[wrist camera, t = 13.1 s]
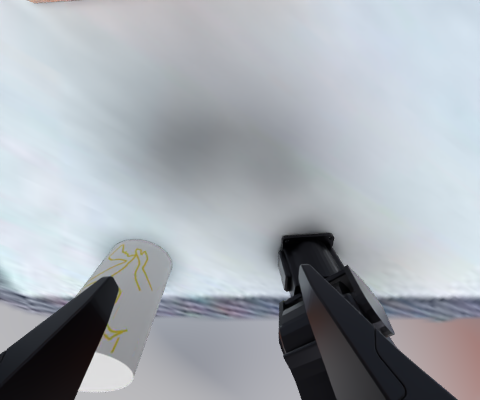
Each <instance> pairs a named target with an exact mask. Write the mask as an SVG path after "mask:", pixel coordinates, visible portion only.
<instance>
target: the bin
mask: <svg viewBox="0 0 480 400" xmlns="http://www.w3.org/2000/svg"><path fill="white" fill-rule="evenodd" d="M28 1H30V2H33V3H45V2H59V1H73V0H28Z"/></svg>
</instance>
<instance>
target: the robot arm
mask: <svg viewBox="0 0 480 400" xmlns="http://www.w3.org/2000/svg"><path fill="white" fill-rule="evenodd" d="M329 237H330V238H329ZM285 240H287V241H285ZM333 241H334V236H333V235H332V234H331V233H328V234H312V235H296V236H284V237H283V238H282V248H281V251H279V257H278V267H279V271H280V275H281V279H282V283H283V287H284V290H285V291H286V292H287V291H289V292H290V295H291V298H289V299H287V300H285V301H284V300H283V301H282V302H280V305H279V344H280V346H281V349H282V352H283V354H284V355H283V356H284V359H285V361H286V363H287V365H288V366H289V368H290V370H291V372H292V375H293V377H294V379H295V381H296V384H297V387H298V390H299V393H300V396H301V399H302V400H457V399H456V398H455V397H454V396H453V395H451V394H450V393H449V392H448V391H447V390H445V389H444V388H443V387H442V386H441V385H440V384H438V383H437V382H436V381H435V380H434V379H432V378H431V377H430V376H429V375H428V374H426V373H425V372H424V371H423V370H422V369H420V368H419V367H418V366H417V365H416V364H414V363H413V362H412V361H411V360H410V359H409V358H408V357H407V356H405V355H404V354H403V353H402V352H401V351H400V350H399V349H398V348H397V347H396V346H395V344H394V343H393V341H392V340H391V338H390V337H389V336H392V335H394V331H393V329H392V327H391V324H390V322H389V320H388V318H387V315H386V313H385V311H384V309H383V307H382V305H381V304H380V302H379V301H378V300H377V298H376V297H375V295H374V294H373V293H372V291H371V290H370V289H369V287H368V286H367V285H366V284H365V283H364V282H363V281H362V280H361V278H360V277H359V276H358V275H357V274H356V273H355V272H354V271H353V270H352V269H351V268H350V267H349V266H348V265H347V266H345V267H344V265H343V264H342V262H341V260H340V259H339V257H338V256H337V254H336V252H335V251H334V249H333V248H332V246H333ZM118 292H119V287H118V285H117V283H116V281H115V279H114V278H113V277H112V276H104V277H102V278H100V279H99V280H97V281H96V282H95V283H93V284H92V285H91V286H90V287H88V288H87V289H86V290H84V291H83V292H82V293H80V294H79V295H78V296H76V297H75V298H74V299H72V300H71V301H70V302H68V303H67V304H66V305H64V306H63V307H62V308H61V309H59V310H58V311H57V312H55V313H54V314H53V315H51V316H50V317H49V318H47V319H46V320H45V321H43V322H42V323H41V324H40V325H38V326H37V327H35V328H34V329H33V330H32V331H30V332H29V333H28V334H26V335H25V336H24V337H22V338H21V339H20V340H18V341H17V342H16V343H14V344H13V345H12V346H10V347H9V348H8V349H7V350H6V351H4V352H2V353H1V354H0V400H74V399H75V396H76V395H77V392H78V390H79V388H80V386H81V383H82V381H83V379H84V377H85V374H86V372H87V370H88V367H89V365H90V363H91V361H92V358H93V356H94V354H95V352H96V349H97V347H98V345H99V343H100V340H101V338H102V336H103V334H104V331H105V329H106V327H107V324H108V321H109V319H110V316H111V313H112V310H113V307H114V304H115V301H116V298H117V295H118Z"/></svg>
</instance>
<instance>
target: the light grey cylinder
mask: <svg viewBox="0 0 480 400" xmlns="http://www.w3.org/2000/svg"><path fill="white" fill-rule="evenodd" d="M171 269H172V261H171V259H170V257H169V255H168V254H167V253H166V252H165V251H164V250H163V249H162V248H161V247H159V246H157V245H156V244H153V243H151V242H148V241H144V240H136V239H133V240H126V241H122V242H120V243H118V244H117V245H115V246H114V247H113V249H112V250H111V251H110V252H109V254H108V255H107V256H106V258H105V259H104V260H103V262H102V263H101V264H100V265H99V267H98V268H97V269H96V271H95V272H94V273H93V275H92V276H91V277H90V278H89V280H88V281H87V282H86V284H85V285H84V286H83V288H82V289H81V290H80V291H79V293H78V294H77V295H76V296H78V295H79V294H80V293H82V292H83V291H84V290H86V289H87V288H88V287H90V286H91V285H92V284H93V283H95V282H96V281H97V280H99V279H100V278H102V277H104V276H112V277H113V278H114V279H115V281H116V283H117V285H118V287H119V292H118V295H117V298H116V301H115V304H114V307H113V310H112V313H111V316H110V319H109V321H108V324H107V327H106V329H105V331H104V334H103V336H102V338H101V340H100V343H99V345H98V347H97V349H96V352H95V354H94V356H93V358H92V361H91V363H90V365H89V367H88V370H87V372H86V374H85V377H84V379H83V381H82V383H81V386H80V388H79V390H78V391H84V392H107V391H113V390H118V389H121V388H124V387H126V386H128V385H129V384H130V383H131V382H132V380H133V378H134V375H135V372H136V369H137V366H138V363H139V360H140V357H141V355H142V352H143V349H144V346H145V343H146V341H147V338H148V335H149V332H150V329H151V326H152V324H153V321H154V318H155V315H156V312H157V309H158V306H159V304H160V301H161V298H162V295H163V292H164V289H165V286H166V284H167V281H168V278H169V275H170V272H171Z"/></svg>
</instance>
